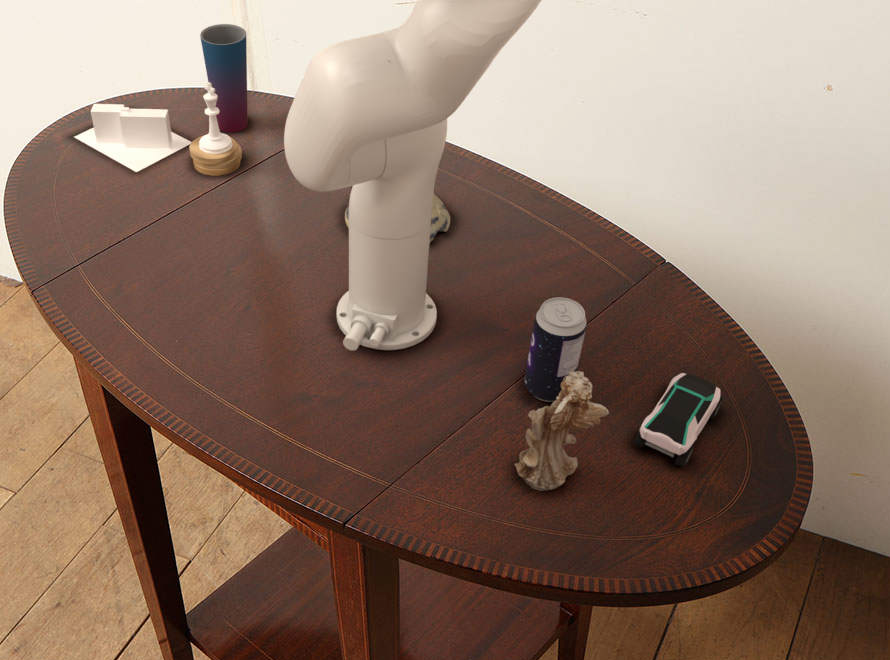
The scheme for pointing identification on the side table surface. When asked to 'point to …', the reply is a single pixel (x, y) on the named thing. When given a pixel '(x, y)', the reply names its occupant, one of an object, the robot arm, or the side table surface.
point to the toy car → (680, 417)
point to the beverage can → (554, 346)
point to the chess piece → (213, 127)
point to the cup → (227, 73)
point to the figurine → (558, 433)
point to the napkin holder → (132, 135)
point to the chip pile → (215, 159)
